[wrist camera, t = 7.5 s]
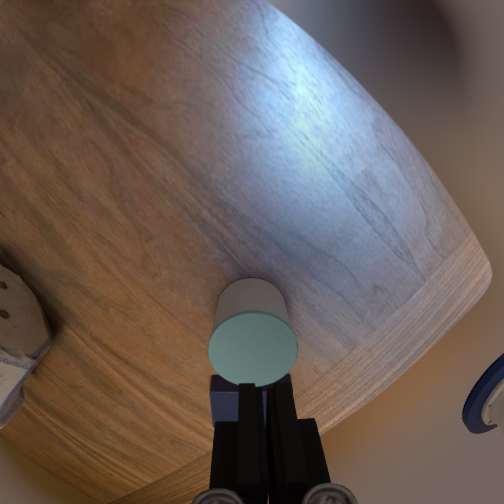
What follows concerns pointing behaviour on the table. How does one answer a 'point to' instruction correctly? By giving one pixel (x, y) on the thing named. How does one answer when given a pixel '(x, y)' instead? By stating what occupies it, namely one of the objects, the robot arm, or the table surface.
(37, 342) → the potted plant
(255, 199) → the table surface
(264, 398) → the dark rectangular block
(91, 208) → the table surface
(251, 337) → the beige cylinder teal cap
